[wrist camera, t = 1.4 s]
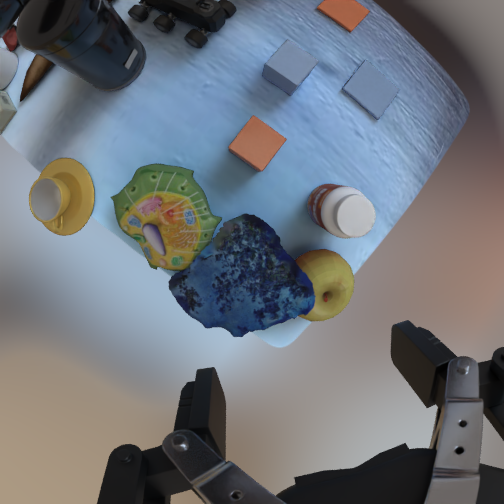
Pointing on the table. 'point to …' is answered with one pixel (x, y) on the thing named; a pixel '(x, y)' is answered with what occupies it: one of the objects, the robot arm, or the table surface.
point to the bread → (35, 73)
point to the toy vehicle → (187, 16)
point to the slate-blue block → (289, 66)
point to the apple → (327, 282)
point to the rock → (243, 280)
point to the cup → (63, 196)
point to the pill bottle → (341, 210)
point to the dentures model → (11, 38)
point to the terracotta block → (256, 144)
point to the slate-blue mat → (371, 89)
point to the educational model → (166, 215)
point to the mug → (7, 67)
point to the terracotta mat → (344, 12)
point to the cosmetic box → (5, 110)
